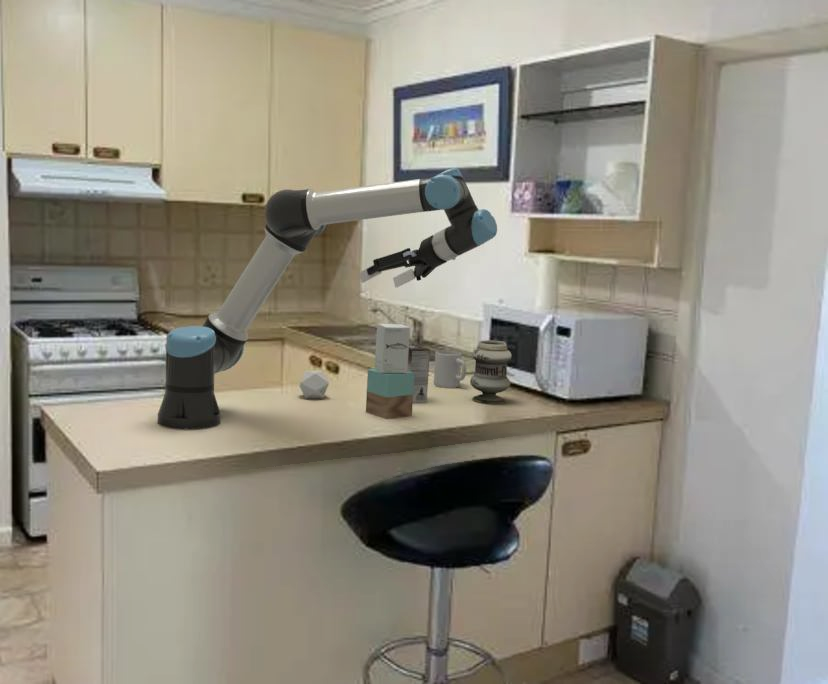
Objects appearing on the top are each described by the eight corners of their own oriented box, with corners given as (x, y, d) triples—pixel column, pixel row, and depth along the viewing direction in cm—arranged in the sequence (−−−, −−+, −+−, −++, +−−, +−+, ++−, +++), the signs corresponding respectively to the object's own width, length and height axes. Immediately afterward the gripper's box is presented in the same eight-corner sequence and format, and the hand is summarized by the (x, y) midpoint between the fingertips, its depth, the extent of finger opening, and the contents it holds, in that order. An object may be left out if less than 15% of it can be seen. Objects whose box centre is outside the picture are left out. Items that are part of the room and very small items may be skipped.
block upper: (387, 397, 234) (388, 375, 234) (366, 391, 241) (367, 369, 240) (413, 394, 240) (414, 372, 239) (392, 388, 247) (393, 367, 246)
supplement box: (381, 373, 235) (384, 326, 233) (374, 368, 242) (376, 323, 240) (408, 373, 237) (410, 327, 236) (399, 368, 244) (402, 323, 243)
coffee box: (396, 396, 265) (399, 344, 263) (416, 396, 267) (419, 344, 265) (407, 403, 257) (410, 348, 254) (428, 402, 259) (431, 348, 257)
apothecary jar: (465, 402, 262) (469, 342, 260) (472, 395, 274) (476, 337, 272) (506, 406, 260) (510, 346, 257) (511, 399, 271) (515, 341, 269)
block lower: (386, 419, 235) (387, 397, 234) (365, 412, 242) (366, 391, 241) (411, 415, 241) (413, 394, 240) (391, 409, 248) (392, 388, 247)
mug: (428, 384, 287) (430, 351, 286) (445, 382, 293) (447, 349, 292) (455, 391, 279) (457, 356, 277) (473, 388, 285) (475, 355, 284)
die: (319, 404, 252) (337, 376, 255) (293, 388, 251) (311, 360, 254) (316, 408, 260) (333, 381, 263) (291, 392, 259) (309, 365, 262)
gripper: (413, 255, 208) (349, 289, 220) (473, 267, 227) (411, 297, 239) (405, 226, 209) (342, 261, 221) (465, 240, 229) (404, 272, 241)
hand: (378, 280), depth 230 cm, fingers open, 13 cm apart
